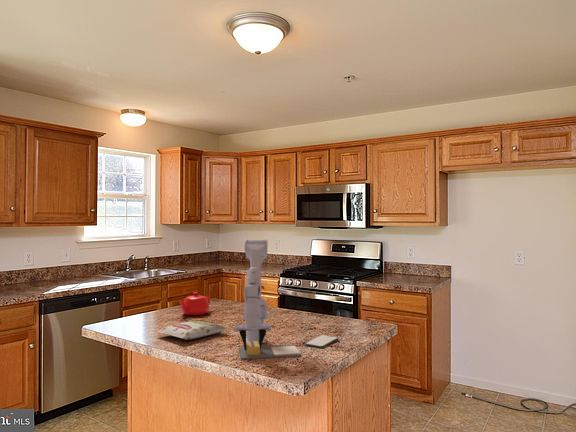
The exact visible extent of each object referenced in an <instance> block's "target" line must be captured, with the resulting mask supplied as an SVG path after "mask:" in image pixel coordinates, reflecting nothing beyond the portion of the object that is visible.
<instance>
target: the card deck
mask: <svg viewBox="0 0 576 432" xmlns="http://www.w3.org/2000/svg"><path fill="white" fill-rule="evenodd" d="M246 354H247V355H260V345H259V343H258V341H248V342H246Z"/></svg>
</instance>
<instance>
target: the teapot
mask: <svg viewBox="0 0 576 432" xmlns="http://www.w3.org/2000/svg"><path fill="white" fill-rule="evenodd" d="M192 294H193V295H188V296H186V297H185V298H184V299H183V300H178V302H179V303H180V309H181V311H182V313H183V314H184V315H186V316H188V315H200V316H203V315H202V314H204V315H205V313H206V314H207V313H208V312H209V311H210V308H211V307H210V302H211V297H209V296H204V295H198V294H199V292H197V291H194V292H193V293H192Z"/></svg>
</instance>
